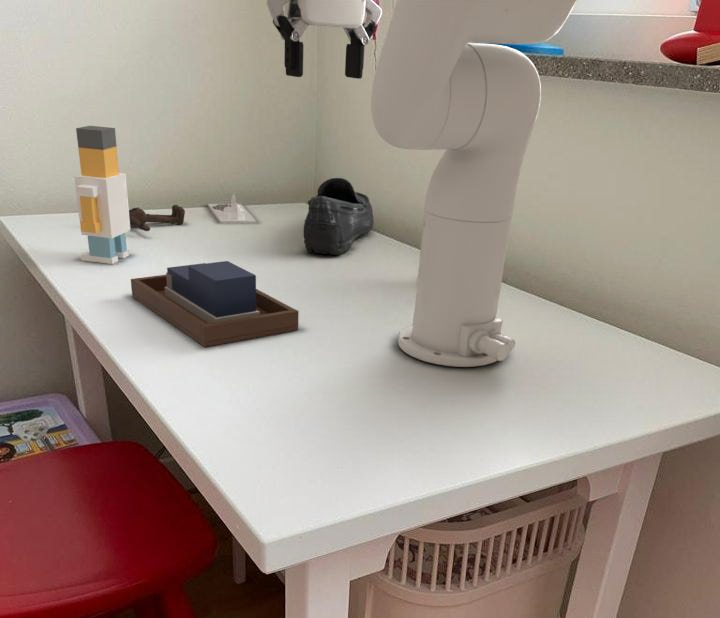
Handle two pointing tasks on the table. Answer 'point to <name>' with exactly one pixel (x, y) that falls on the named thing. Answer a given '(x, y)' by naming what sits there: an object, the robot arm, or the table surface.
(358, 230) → the loafer
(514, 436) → the table surface
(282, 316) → the tray
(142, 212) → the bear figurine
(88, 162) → the character figure
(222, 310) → the blue stair step block
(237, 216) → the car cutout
